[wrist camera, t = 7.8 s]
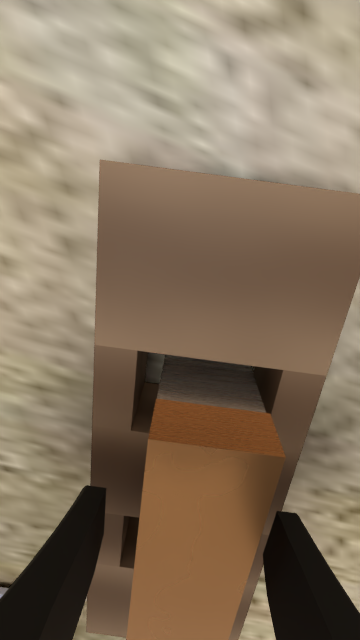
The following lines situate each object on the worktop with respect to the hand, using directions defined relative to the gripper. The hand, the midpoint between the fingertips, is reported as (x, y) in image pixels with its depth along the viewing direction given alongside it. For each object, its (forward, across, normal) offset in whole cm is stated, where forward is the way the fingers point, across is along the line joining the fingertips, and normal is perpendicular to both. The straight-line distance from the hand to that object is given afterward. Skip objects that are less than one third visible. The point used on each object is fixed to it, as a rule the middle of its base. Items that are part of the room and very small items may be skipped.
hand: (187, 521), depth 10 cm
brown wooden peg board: (+4, 0, 0) cm, 4 cm away
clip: (+4, 0, 0) cm, 4 cm away
